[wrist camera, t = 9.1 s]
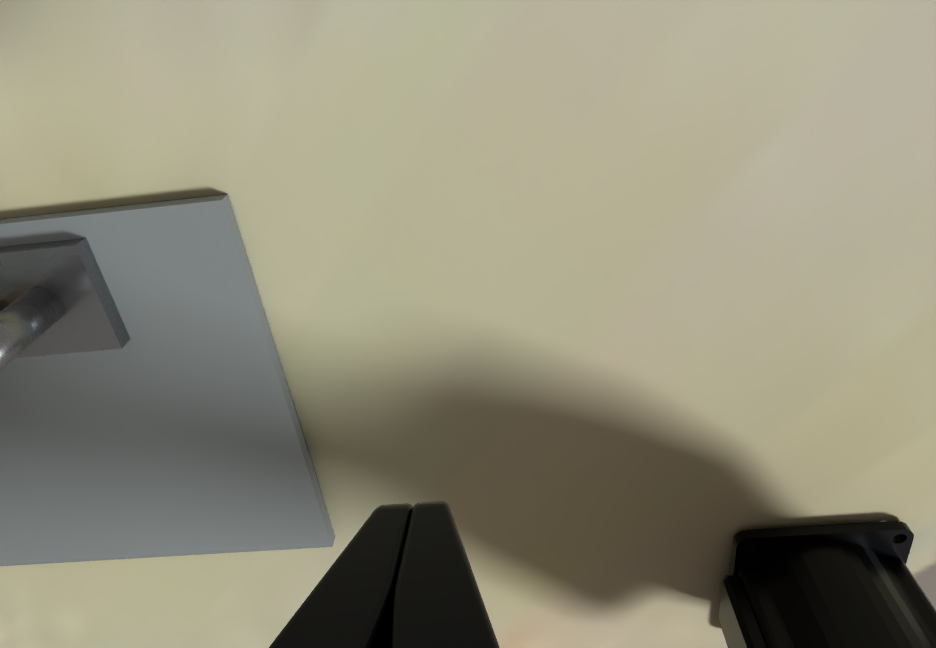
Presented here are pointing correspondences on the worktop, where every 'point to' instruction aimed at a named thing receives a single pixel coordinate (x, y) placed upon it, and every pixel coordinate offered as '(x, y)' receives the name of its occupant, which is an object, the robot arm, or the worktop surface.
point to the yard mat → (156, 405)
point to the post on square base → (55, 302)
